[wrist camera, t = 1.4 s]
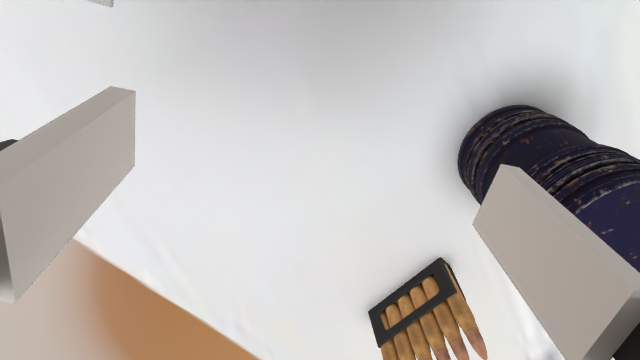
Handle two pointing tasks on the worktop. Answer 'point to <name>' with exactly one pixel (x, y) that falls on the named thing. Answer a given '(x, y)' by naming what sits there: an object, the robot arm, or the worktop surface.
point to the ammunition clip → (426, 318)
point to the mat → (103, 2)
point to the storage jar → (559, 171)
